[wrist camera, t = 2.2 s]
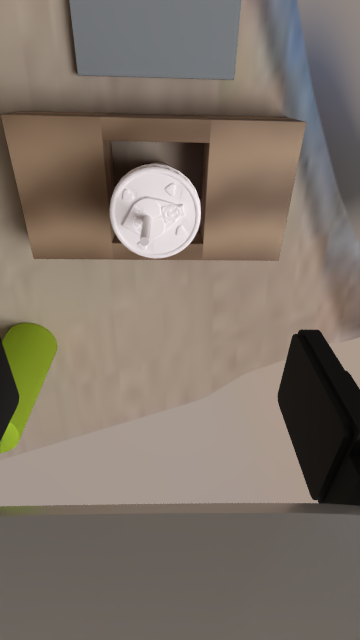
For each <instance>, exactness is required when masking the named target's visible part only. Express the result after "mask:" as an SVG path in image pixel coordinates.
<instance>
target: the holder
mask: <svg viewBox="0 0 360 640" xmlns="http://www.w3.org/2000/svg"><path fill="white" fill-rule="evenodd" d="M1 119H2V123H3V127H4V132H5V136H6V140H7V145H8V149H9V153H10V158H11V162H12V166H13V171H14V175H15V179H16V184H17V188H18V192H19V197H20V201H21V205H22V210H23V214H24V218H25V223H26V227H27V231H28V236H29V240H30V244H31V249H32V253H33V257H34V259H130V260H263V261H279V257H280V252H281V246H282V241H283V236H284V231H285V226H286V221H287V216H288V211H289V206H290V201H291V196H292V191H293V186H294V181H295V176H296V171H297V166H298V161H299V155H300V150H301V145H302V140H303V135H304V130H305V125H306V122H304V121H300V120H296V119H292V118H282V117H242V116H201V115H160V114H120V113H79V112H39V111H20V112H14V113H8V114H2V115H1ZM111 141H149V142H196V143H204V150H203V168H202V186H201V204H200V207H201V219H200V225H199V228H198V231H197V233H196V235H195V237H194V239H193V240H192V241H191V243H190V244H189V245H188V246H187V247H186V248H185V249H183V250H182V251H180V252H179V253H177V254H175V255H172V256H169V257H165V258H148V257H144V256H141V255H138V254H136V253H134V252H132V251H131V250H129V249H128V248H127V247H125V246H124V245H123V244H122V243H121V241H120V240H119V239H118V237H117V236H116V234H115V232H114V230H113V228H112V225H111V221H110V202H111V198H112V195H113V192H114V189H115V184H114V172H113V159H112V147H111Z"/></svg>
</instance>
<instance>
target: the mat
mask: <svg viewBox="0 0 360 640" xmlns="http://www.w3.org/2000/svg"><path fill="white" fill-rule="evenodd" d="M69 2H70V11H71V19H72V28H73V36H74V45H75V54H76V62H77V71H78V75H84V76H119V77H153V78H188V79H222V80H234V75H235V64H236V53H237V42H238V31H239V20H240V9H241V0H69Z"/></svg>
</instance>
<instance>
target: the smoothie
mask: <svg viewBox="0 0 360 640" xmlns="http://www.w3.org/2000/svg"><path fill="white" fill-rule="evenodd" d="M200 219H201V207H200V200H199V197H198V194H197V191H196V189H195V187H194V186H193V184H192V183H191V181H190V180H189V179H188V178H187V177H186V176H185V175H183V174H182V173H181V172H180V171H178V170H176V169H174V168H172V167H170V166H168V165H167V164H164V163H161V162H154V163H151V164H148V165H142V166H140V167H137V168H135V169H132V170H131V171H129V172H128V173H127V174H126V175H125V176H123V177H122V178H121V180H120V181H119V183H118V184H117V185H116V187H115V189H114V192H113V195H112V198H111V202H110V221H111V225H112V228H113V230H114V232H115V234H116V236H117V237H118V239H119V240H120V241H121V243H122V244H123V245H124V246H125V247H127V248H128V249H129V250H131V251H132V252H134V253H136V254H138V255H141V256H144V257H148V258H165V257H169V256H172V255H175V254H177V253H179V252H180V251H182V250H183V249H185V248H186V247H187V246H188V245H189V244H190V243H191V241H192V240H193V239H194V237H195V235H196V233H197V231H198V228H199V225H200Z"/></svg>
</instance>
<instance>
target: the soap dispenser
mask: <svg viewBox="0 0 360 640" xmlns="http://www.w3.org/2000/svg"><path fill="white" fill-rule="evenodd" d="M2 344H3V347H4V350H5V353H6V356H7V359H8V362H9V365H10V368H11V371H12V374H13V377H14V380H15V383H16V386H17V389H18V392H19V403H18V406H17V408H16V410H15V412H14V414H13V416H12V419H11V421H10V423H9V425H8V427H7V429H6V431H5V433H4V435H3V437H2V439H1V441H0V453H3V452H7V451H9V450H11V449H13V448H14V447H15V446H16V445H17V444H18V442H19V440H20V437H21V435H22V432H23V430H24V428H25V425H26V423H27V420H28V418H29V416H30V413H31V411H32V408H33V406H34V404H35V401H36V399H37V396H38V394H39V392H40V389H41V387H42V384H43V382H44V380H45V377H46V375H47V372H48V370H49V368H50V365H51V363H52V360H53V358H54V356H55V353H56V351H57V342H56V339H55V337H54V336H53V335H52V333H51V332H49V331H48V330H47V329H45V328H44V327H42V326H40V325H37V324H33V323H21V324H17V325H15V326H13V327H12V328H11V329H10V330H9V331H8V332H7V334H6V336H5V337H4V339H3V340H2Z"/></svg>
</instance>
